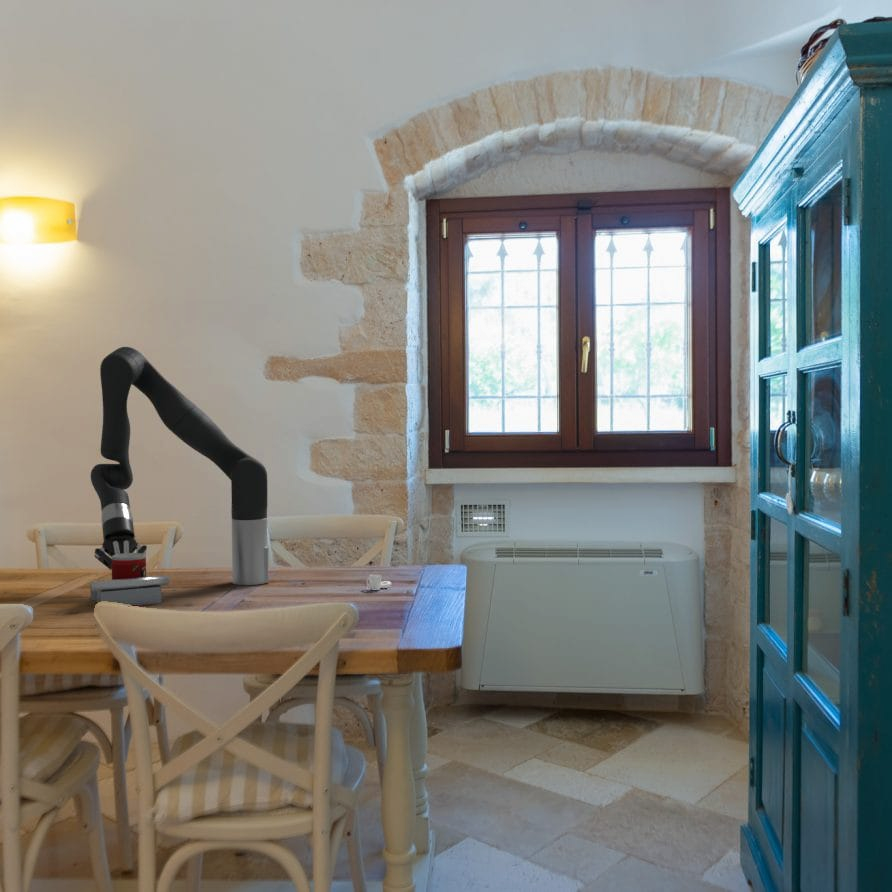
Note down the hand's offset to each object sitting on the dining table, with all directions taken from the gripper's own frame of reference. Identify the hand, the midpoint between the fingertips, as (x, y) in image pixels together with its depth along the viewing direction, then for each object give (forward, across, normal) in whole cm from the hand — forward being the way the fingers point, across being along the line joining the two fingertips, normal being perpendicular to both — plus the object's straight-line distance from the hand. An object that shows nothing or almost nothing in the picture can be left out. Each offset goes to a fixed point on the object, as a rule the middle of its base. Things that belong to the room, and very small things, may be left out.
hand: (124, 580), depth 218 cm
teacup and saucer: (+19, -61, +12) cm, 65 cm away
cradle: (+7, 0, +1) cm, 7 cm away
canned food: (+6, -1, 0) cm, 6 cm away
